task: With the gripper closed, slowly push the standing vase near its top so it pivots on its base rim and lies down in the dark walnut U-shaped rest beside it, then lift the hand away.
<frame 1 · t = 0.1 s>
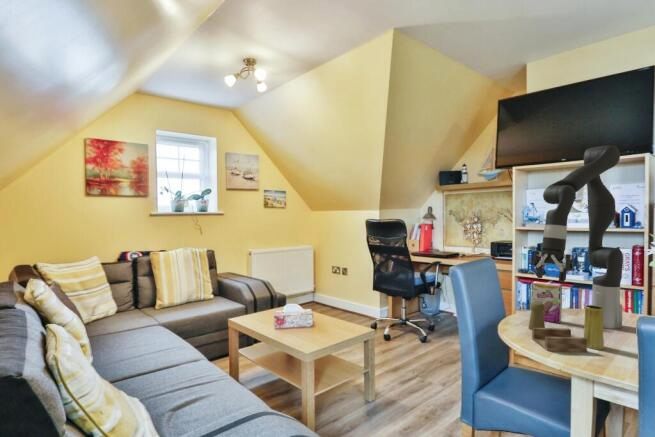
hand: (550, 279, 138), 22 cm above the table, tool pointing down, fingers open, 8 cm apart
candy bar box: (546, 320, 161), on the table
vase: (593, 347, 130), on the table
u rest: (558, 345, 131), on the table
cork: (536, 329, 149), on the table
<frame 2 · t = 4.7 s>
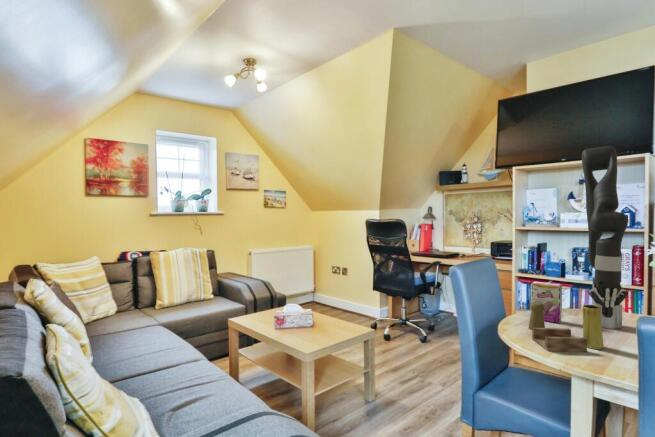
hand: (607, 317, 129), 11 cm above the table, tool pointing down, fingers closed
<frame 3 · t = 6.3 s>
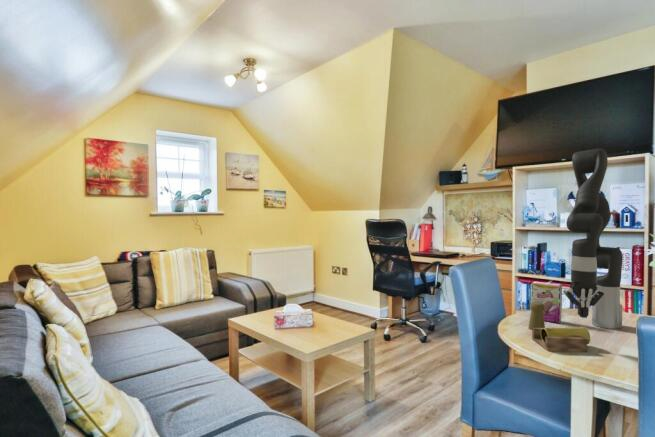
hand: (583, 317, 130), 11 cm above the table, tool pointing down, fingers closed
vase: (585, 335, 130), point 4 cm above the table, touching u rest
everything else where it was.
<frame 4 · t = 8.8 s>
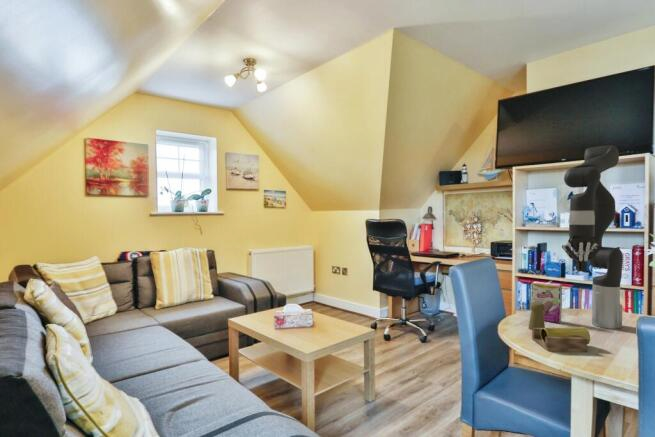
hand: (581, 271, 131), 27 cm above the table, tool pointing down, fingers closed
nothing on the table moved.
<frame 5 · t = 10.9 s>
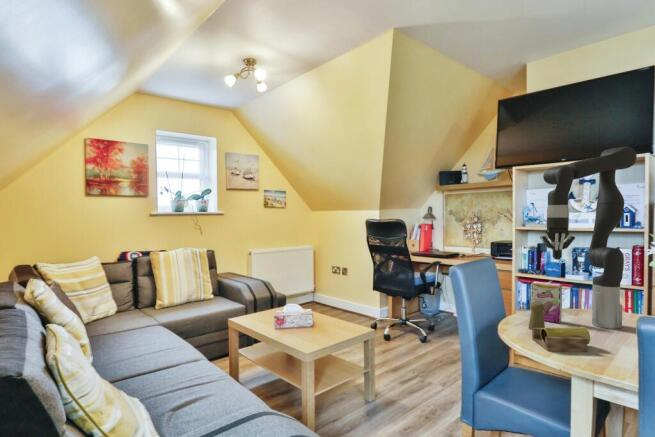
hand: (557, 259, 146), 29 cm above the table, tool pointing down, fingers closed
nothing on the table moved.
at the end: vase tilted 91°; vase inside the target area (0.8 cm from its centre), point 3.9 cm above the table; vase touching u rest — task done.
